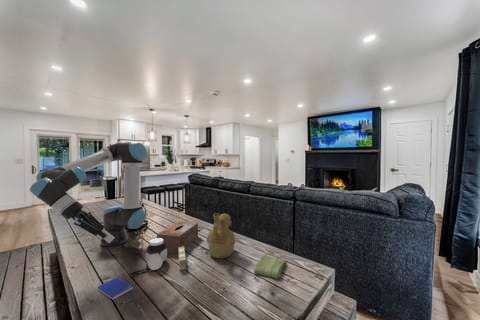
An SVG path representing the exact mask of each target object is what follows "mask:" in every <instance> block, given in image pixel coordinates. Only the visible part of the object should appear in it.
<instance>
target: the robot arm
mask: <svg viewBox="0 0 480 320" xmlns="http://www.w3.org/2000/svg"><path fill="white" fill-rule="evenodd" d="M147 155H148V151H147V148H146V146H144V144H143V143H141V142H138V141H127V142H124V141H122V142H117V143H114V144H111V145H108V146H105V147H103V148H101V149H100V150H99V151H97V152H95V153H92V154H89V155H87V156H84V157H81V158H79V159H75V160H73V161H71V162H68V163H66V164H63V165H60V166H57V167H55V168H53V169H46V170H42V171H39V172H38V173H37V175H36V182H34V183H33V184H32V185H31V186H30V188H29V192H30V193H31V194H32V195H34V196H35V197H36V198H37V199H39V200H40V201H42V202H43V203H44V204H46V205H47V206H49V207H50V208H51V209H53V211H55V212H57V213H58V214H60V215H61V216H62V217H63V218H64V219H66V220H70V219H73V221H74V222H73V225H75V226H77V227H79V228H81V229H83V230H84V231H86V232H88V233H89V234H91V235H93V236H94V237H96V236H99V237H100V246H102V247H114V246H120V245H122V244H124V243H126V242H127V241H128V240H129V239H128V237H129V236H128V233H127V231H126V229H130V230H131V229H132V230H133V229H139V228H140V227H141V226H142V225H143V224H144V223H145V220H146V217H147V214H146V212H145V210H144V209H142V208H143V206H142V204H140V174H141V172H140V169H141V165H143V161H144V160H145V159H146V157H147ZM116 161H121V164H122V165H123V166H124V172H123V173H124V180H123V181H124V183H123V185H124V186H123V188H124V189H123V204H120V205H113V206H109V207H106V208H104V209H103V215H102V216H103V217H102V218H103V224H102V223H101V222H100V221H99V220H98V219H97V218H96V217H95V216H94V215H93V214H92V213H91V212H90V211H88V212H86V211H85V210H82V209H83V208H84V205H83V204H81V203H80V202H79V201H76V198H74V197H73V196H71V195H70V194H69V193H68V191H70V190H72V189H73V188H75V187H76V186H77V185H79V184H80V183H81V184H82V182H84V180H86V179H87V174H86V173H87V172H88V171H90V170H92V169H95V168H98V167H99V166H101V165H104V164H106V163H107V164H109V163H112V162H116Z"/></svg>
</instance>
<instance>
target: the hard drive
mask: <svg viewBox="0 0 480 320" xmlns="http://www.w3.org/2000/svg"><path fill="white" fill-rule="evenodd" d="M133 289H134V286H133V285H132V284H130V283H128V282H126V281H125V280H123V279H121V278H119V277H115V278H113V279H111V280H109V281H106V282H105V283H102V284H101V285H98V286H97V290H99V291H100V292H101V293H103V294H104V295H105V296H106V297H109V298H110V299H112V300H115V299H117V298H118V297H120V296H122V295H124V294H126V293H128V292H130V291H131V290H133Z"/></svg>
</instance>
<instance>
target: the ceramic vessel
mask: <svg viewBox="0 0 480 320" xmlns="http://www.w3.org/2000/svg"><path fill="white" fill-rule="evenodd" d="M213 222H214V223H213V227H212V229H211V230H210V231H209V233H208V235H207V237H206V242H207V244H208V252H209V255H210V256H211V257H212V258H215V259H225V258H226V259H227V258H229V257H230V256H231V255H232V254H233V252H234V250H235V249H234V248H235V244H236V238H235V235H234V232H233V231H232V230H231V229H229V228H230V227H231V226H232V220H231V216H230V214H228V213H221V214H220V213H218V212H215V213H213Z"/></svg>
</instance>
